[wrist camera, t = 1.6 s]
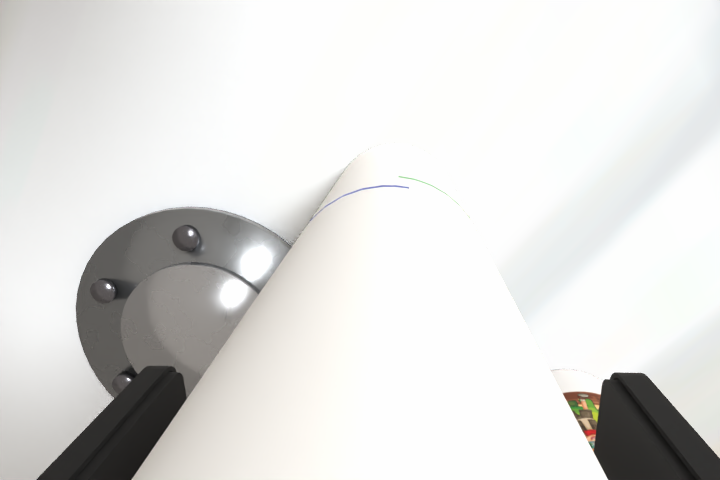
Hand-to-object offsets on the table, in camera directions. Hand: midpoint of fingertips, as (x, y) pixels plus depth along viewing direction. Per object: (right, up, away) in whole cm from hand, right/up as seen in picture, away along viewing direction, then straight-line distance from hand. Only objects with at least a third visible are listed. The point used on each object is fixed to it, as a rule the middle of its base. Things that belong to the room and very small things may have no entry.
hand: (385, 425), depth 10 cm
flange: (-11, -2, +22) cm, 25 cm away
